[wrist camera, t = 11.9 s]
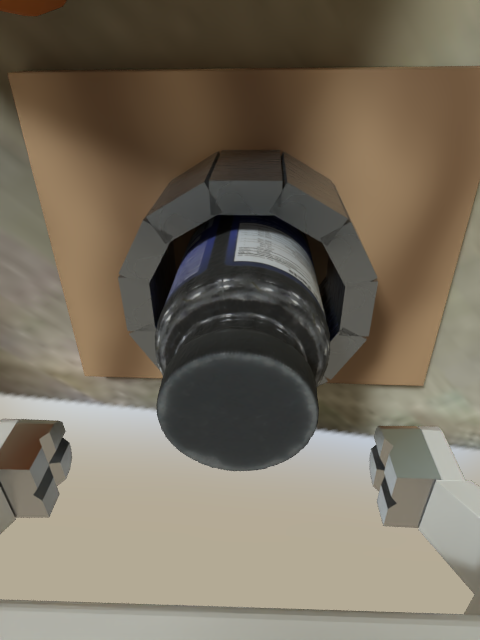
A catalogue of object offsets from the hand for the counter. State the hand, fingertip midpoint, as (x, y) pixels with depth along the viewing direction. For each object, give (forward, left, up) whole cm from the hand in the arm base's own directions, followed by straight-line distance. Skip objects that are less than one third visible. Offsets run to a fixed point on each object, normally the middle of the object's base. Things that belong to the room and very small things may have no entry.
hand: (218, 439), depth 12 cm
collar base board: (0, 0, -14) cm, 14 cm away
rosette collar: (0, 0, -12) cm, 12 cm away
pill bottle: (0, 0, -12) cm, 12 cm away
